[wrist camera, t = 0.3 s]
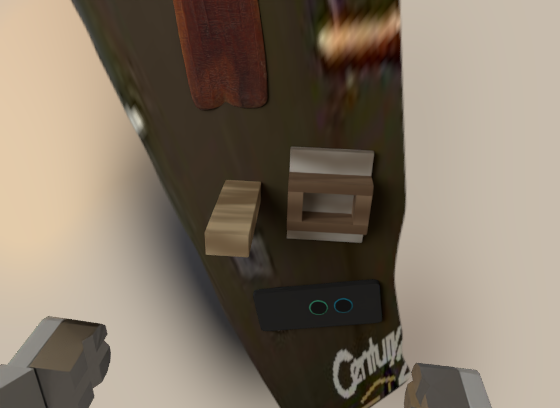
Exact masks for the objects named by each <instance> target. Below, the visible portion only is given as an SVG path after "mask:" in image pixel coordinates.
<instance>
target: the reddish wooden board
mask: <svg viewBox="0 0 560 408" xmlns="http://www.w3.org/2000/svg"><path fill="white" fill-rule="evenodd" d="M173 3H174V8H175V14H176V20H177V25H178V32H179V37H180V42H181V48H182V53H183V57H184V63H185V68H186V72H187V77H188V83H189V87H190V91H191V95H192V98H193V101H194V103H195V105H196V107H197V108H199V109H200V110H208V109H213V108H216V107H219V106H221V105H222V104H223V103H224V102H228V103H230V104H231V105H234V106H237V107H243V108H257V107H261V106H263V105H264V104H265V103H266V101H267V72H266V61H265V51H264V42H263V35H262V28H261V20H260V13H259V6H258V1H257V0H173Z"/></svg>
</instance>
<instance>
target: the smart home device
mask: <svg viewBox="0 0 560 408" xmlns="http://www.w3.org/2000/svg"><path fill="white" fill-rule="evenodd" d="M253 298H254V302H255V306H256V311H257V315H258V319H259V323H260V327H261V330H263V331H275V330H288V329H301V328H315V327H328V326H341V325H354V324H367V323H378V322H381V321H382V312H381V299H380V286H379V281H378V280H373V279H371V280H360V281H348V282H337V283H326V284H315V285H303V286H292V287H278V288H269V289H259V290H256V291H254V295H253Z"/></svg>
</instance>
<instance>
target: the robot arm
mask: <svg viewBox="0 0 560 408" xmlns="http://www.w3.org/2000/svg"><path fill="white" fill-rule="evenodd" d="M106 336H107V330H106V326H105V325H103V324H98V323H91V322H86V321H78V320H72V319H65V318H57V317H50V316H48V317H46V318H44V319H43V320H42V321H41V322H40V323H39V325H38V326H37V327H36V328H35V330H34V331H33V332H32V334H31V335H30V336H29V337H28V339H27V340H26V341H25V343H24V344H23V345H22V346H21V348H20V349H19V350H18V351H17V353H16V354H15V355H14V357H13V358H12V359H11V361H10V362H9V363H8V365H4V364H1V365H0V408H89V406H90V404H91V402H92V400H93V398H94V393H93V388H94V387H96V386H97V385H98V384H100V383H101V382H102V381H103V379H104V377H105V375H106V373H107V371H108V367H109V363H110V355H111V352H110V346H109V345H108V344H107V343H106V342H105V341H104V339H105V337H106ZM411 373H412V378H413V381H412V382H410V383H409V384H408V385H407V388H406V392H405V400H404V408H492V407H491V404H490V402H489V399H488V396H487V393H486V390H485V387H484V385H483V382H482V379H481V376H480V374H479V372H478V371H477V370H472V369H464V368H455V367H449V366H440V365H431V364H422V363H416V364H415V365H414V367H413V370H412V372H411Z"/></svg>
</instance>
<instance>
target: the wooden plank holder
mask: <svg viewBox="0 0 560 408" xmlns="http://www.w3.org/2000/svg"><path fill="white" fill-rule="evenodd" d="M373 159H374V151H368V150H348V149H328V148H308V147H291V153H290V173H289V185H288V209H287V238H291V239H308V240H325V241H342V242H359V243H362V238H363V235H367V230H368V223H369V216H370V209H371V202H372V195H373V188H374V185H373V181H372V177H371V173H372V166H373Z"/></svg>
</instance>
